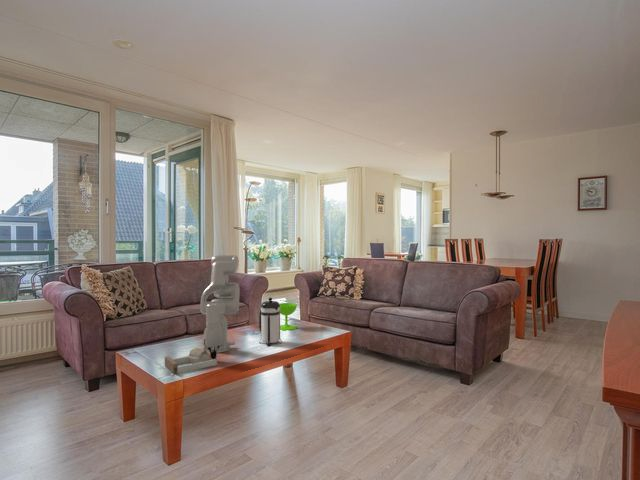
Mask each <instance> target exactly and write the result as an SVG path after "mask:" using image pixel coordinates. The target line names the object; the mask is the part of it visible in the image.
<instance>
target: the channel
mask: <svg viewBox="0 0 640 480" xmlns="http://www.w3.org/2000/svg"><path fill="white" fill-rule="evenodd" d="M188 356H189V355H188ZM188 356H180V357H176V358H171V356H169V355H167V356H164V367H165V368H166V369H167V370H168V371H169V372H170V373H171V374H172V375H175V374H176V375H177V374H181V373H185V372H190V371H194V370H195V371H196V370H200V369H203V368H209V367H213V366H218V359H217V358H216V359H210V360H209V361H204V362H199V363H194V364H192V363H191V362H190V361H189V360H188ZM189 362H190V363H191V364H190V363H189ZM185 363H189V364H185ZM179 364H185V365H181V366H178V365H179Z"/></svg>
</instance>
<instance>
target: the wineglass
mask: <svg viewBox="0 0 640 480" xmlns="http://www.w3.org/2000/svg"><path fill="white" fill-rule="evenodd" d="M279 304H280V315H283V316H284V324H280V330H282V332H283V331H285V332H286V330H290V331H295V330H297V329H296V328H298V327H297V326H296V325H294V324H288V322H289V319H288V317H289V316H291V315H292V314H293V313H294V312H296V309H297V304H296V303H292V302H283V303H280V302H279ZM294 329H295V330H294Z"/></svg>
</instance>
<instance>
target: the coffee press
mask: <svg viewBox="0 0 640 480" xmlns="http://www.w3.org/2000/svg"><path fill="white" fill-rule="evenodd" d="M258 314H259V315H258V317H259V319H258V325H259V331H260V340H259V344H262V343H265V344H267V347H270V346H271V344H274V343H279V344H282V343H283V341H282V340H281V331H280V325H281V314H280V302H279V301H276V300H273V298H272V297H269V298H268V300H266V301H263V302H261V305H260V310H259V313H258Z"/></svg>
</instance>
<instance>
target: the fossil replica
mask: <svg viewBox="0 0 640 480" xmlns="http://www.w3.org/2000/svg"><path fill="white" fill-rule="evenodd" d="M188 360H189V361H190V363H191V364H194V363H199V362H204V361H209V360H211V357H210V353H209V352H208V350H205V349H204V347H203V348H201V347H200V348H199V347H195V348H192V349H191V350H189V354H188Z"/></svg>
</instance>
